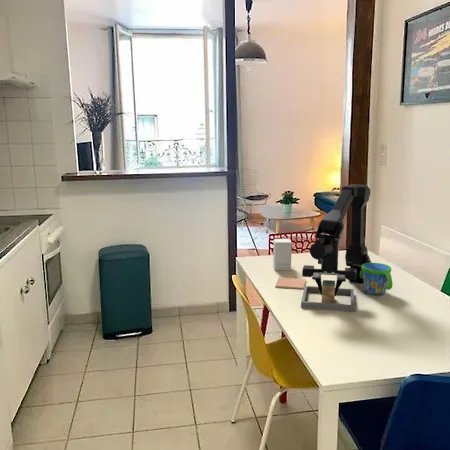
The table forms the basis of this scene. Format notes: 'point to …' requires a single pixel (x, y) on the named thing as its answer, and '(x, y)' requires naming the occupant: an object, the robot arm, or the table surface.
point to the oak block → (328, 291)
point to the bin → (328, 305)
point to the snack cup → (376, 278)
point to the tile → (290, 283)
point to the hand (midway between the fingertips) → (328, 295)
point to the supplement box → (282, 254)
